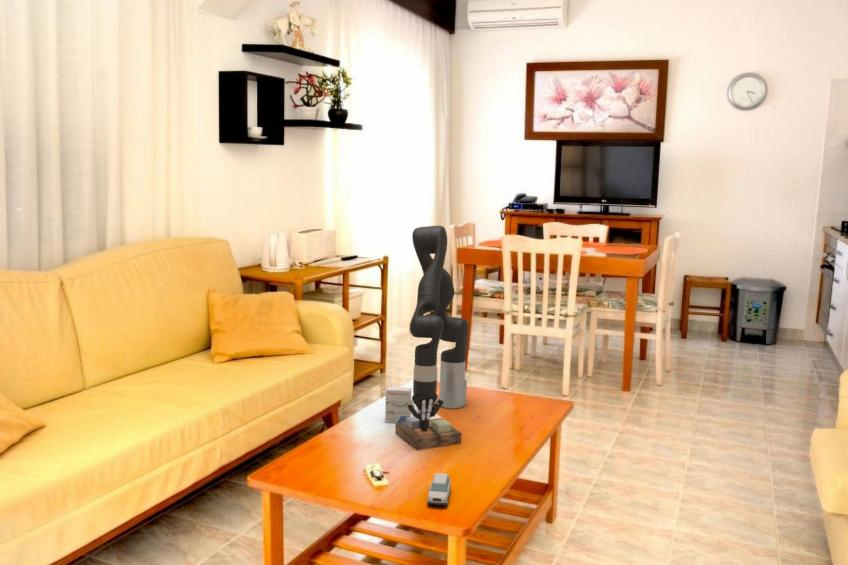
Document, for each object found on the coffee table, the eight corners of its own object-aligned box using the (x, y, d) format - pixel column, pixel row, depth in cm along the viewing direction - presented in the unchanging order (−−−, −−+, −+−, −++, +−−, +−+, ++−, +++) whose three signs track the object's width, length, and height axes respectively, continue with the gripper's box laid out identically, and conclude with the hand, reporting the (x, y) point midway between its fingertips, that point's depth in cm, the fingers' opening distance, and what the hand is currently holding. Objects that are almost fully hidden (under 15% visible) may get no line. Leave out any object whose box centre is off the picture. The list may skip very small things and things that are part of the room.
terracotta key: (426, 435, 244) (426, 427, 244) (433, 439, 240) (433, 432, 240) (413, 436, 242) (414, 429, 242) (420, 441, 238) (420, 434, 238)
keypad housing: (438, 427, 256) (438, 417, 256) (461, 443, 242) (461, 432, 242) (395, 433, 249) (395, 423, 249) (416, 450, 235) (416, 439, 235)
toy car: (425, 508, 196) (426, 490, 195) (431, 488, 208) (431, 470, 208) (447, 510, 195) (448, 492, 194) (451, 489, 208) (452, 472, 207)
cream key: (435, 420, 253) (435, 413, 252) (441, 425, 249) (441, 417, 248) (423, 422, 251) (423, 415, 250) (429, 426, 246) (429, 419, 246)
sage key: (444, 426, 247) (444, 419, 247) (451, 431, 243) (451, 423, 242) (431, 428, 245) (432, 421, 245) (438, 433, 241) (438, 425, 240)
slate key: (418, 423, 250) (418, 415, 249) (424, 427, 246) (424, 420, 245) (405, 424, 248) (405, 417, 247) (411, 429, 244) (411, 421, 243)
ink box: (411, 419, 264) (411, 387, 262) (409, 424, 259) (410, 391, 257) (386, 418, 265) (387, 385, 263) (384, 422, 260) (385, 389, 258)
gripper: (438, 372, 245) (436, 423, 247) (401, 376, 239) (400, 428, 242) (449, 378, 238) (447, 431, 241) (411, 382, 232) (410, 436, 235)
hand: (423, 429), depth 241 cm, fingers closed
